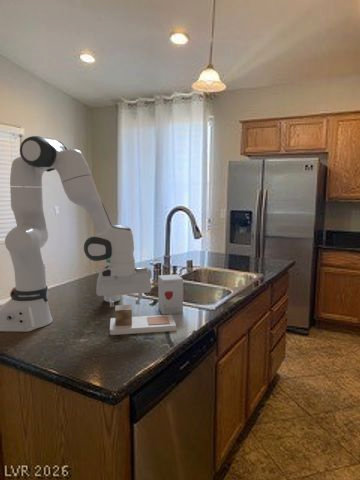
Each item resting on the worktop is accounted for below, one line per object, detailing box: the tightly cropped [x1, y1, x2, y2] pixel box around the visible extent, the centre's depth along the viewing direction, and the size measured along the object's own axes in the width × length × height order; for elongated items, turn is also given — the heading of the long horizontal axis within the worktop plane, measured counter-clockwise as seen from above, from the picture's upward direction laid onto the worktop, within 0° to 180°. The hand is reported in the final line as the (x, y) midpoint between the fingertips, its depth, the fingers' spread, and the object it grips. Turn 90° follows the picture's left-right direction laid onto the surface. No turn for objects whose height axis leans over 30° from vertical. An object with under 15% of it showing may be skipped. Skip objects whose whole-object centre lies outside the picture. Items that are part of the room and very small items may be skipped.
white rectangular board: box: [109, 314, 177, 336], centre depth 140 cm, size 24×12×2 cm, turn 99°
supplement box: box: [157, 274, 184, 315], centre depth 157 cm, size 9×9×15 cm
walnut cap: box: [114, 304, 133, 326], centre depth 138 cm, size 6×6×6 cm
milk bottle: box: [103, 259, 122, 303], centre depth 173 cm, size 8×8×20 cm
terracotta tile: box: [147, 315, 170, 325], centre depth 141 cm, size 8×8×1 cm
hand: (125, 305), depth 138 cm, fingers open, 8 cm apart
